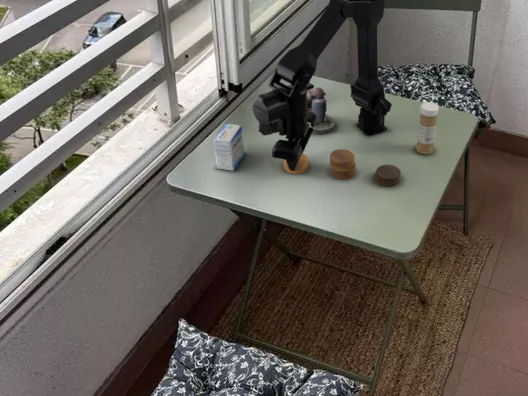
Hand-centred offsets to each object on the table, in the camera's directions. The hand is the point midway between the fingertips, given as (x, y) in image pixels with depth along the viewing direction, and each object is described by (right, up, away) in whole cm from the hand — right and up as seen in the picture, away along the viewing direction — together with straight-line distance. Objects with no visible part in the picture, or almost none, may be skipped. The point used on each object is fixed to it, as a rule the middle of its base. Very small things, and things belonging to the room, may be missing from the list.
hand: (295, 163), depth 170 cm
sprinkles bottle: (+33, +4, +10) cm, 34 cm away
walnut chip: (+23, -4, -2) cm, 23 cm away
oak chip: (0, -1, +1) cm, 1 cm away
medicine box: (-16, 0, +1) cm, 16 cm away
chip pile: (+12, -2, 0) cm, 12 cm away
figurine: (+5, +11, +17) cm, 21 cm away
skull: (-3, +18, +25) cm, 31 cm away
